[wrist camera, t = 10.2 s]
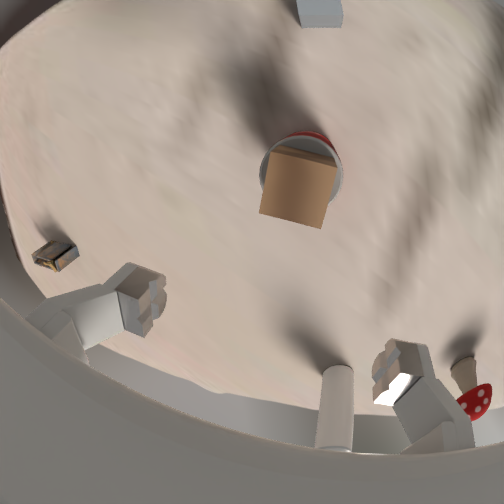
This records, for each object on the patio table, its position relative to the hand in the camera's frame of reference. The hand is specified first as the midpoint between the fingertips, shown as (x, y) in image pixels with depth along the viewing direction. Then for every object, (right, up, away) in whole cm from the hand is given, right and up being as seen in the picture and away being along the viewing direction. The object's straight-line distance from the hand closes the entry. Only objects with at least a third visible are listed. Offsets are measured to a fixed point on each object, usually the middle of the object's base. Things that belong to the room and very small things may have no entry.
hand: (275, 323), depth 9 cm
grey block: (+8, +33, +14) cm, 36 cm away
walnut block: (+4, +9, +15) cm, 18 cm away
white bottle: (+17, -23, +42) cm, 51 cm away
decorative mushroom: (+47, -23, +34) cm, 62 cm away
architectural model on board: (-46, +4, +46) cm, 65 cm away
